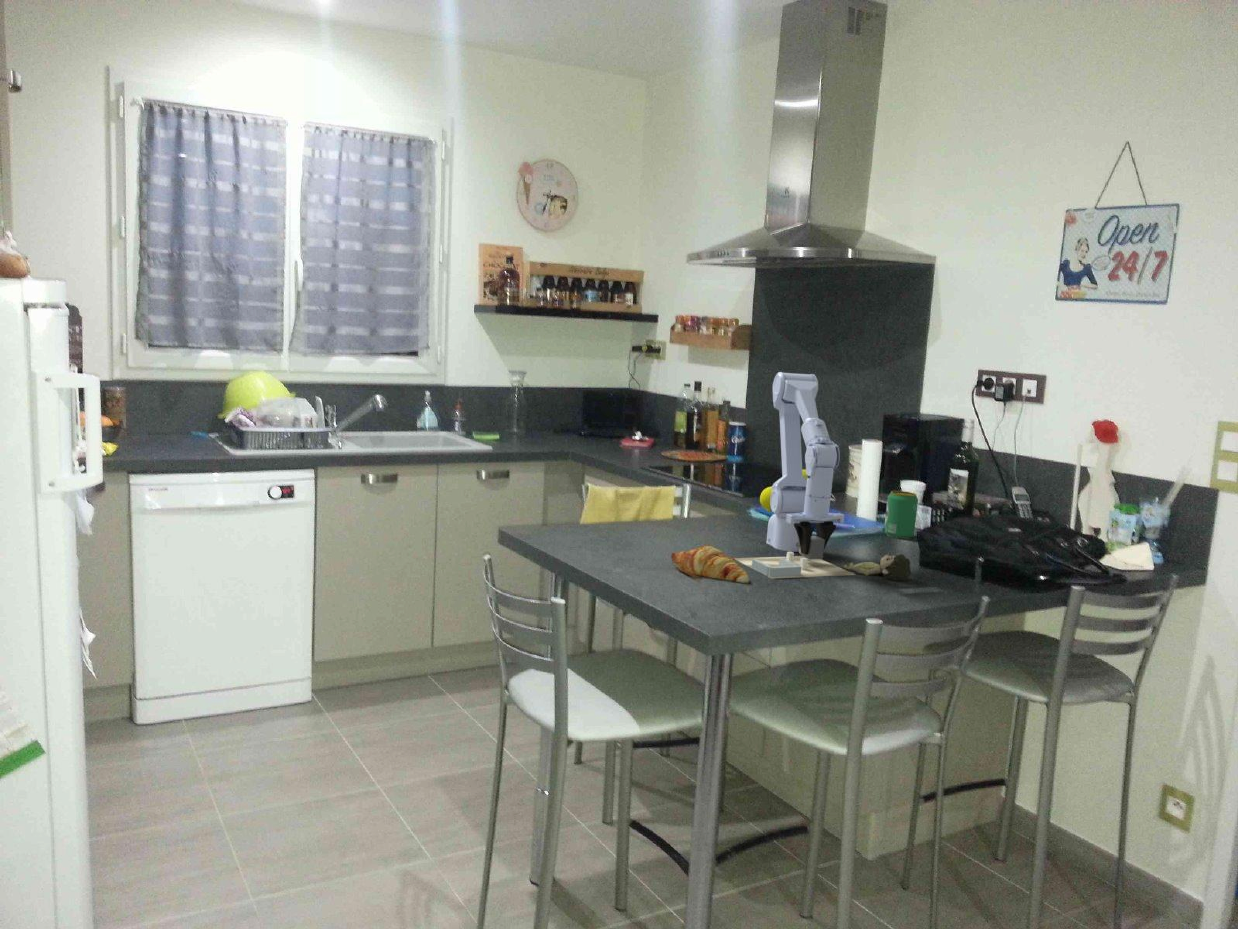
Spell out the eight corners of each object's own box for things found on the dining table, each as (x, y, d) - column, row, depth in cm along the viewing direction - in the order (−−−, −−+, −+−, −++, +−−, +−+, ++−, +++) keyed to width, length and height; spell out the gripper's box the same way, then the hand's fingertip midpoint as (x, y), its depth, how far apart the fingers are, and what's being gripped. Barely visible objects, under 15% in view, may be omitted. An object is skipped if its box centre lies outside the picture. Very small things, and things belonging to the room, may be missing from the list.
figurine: (854, 552, 237) (915, 552, 227) (856, 579, 237) (917, 581, 227) (838, 556, 231) (899, 557, 221) (840, 584, 231) (902, 586, 221)
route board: (732, 562, 234) (733, 558, 234) (812, 559, 242) (813, 555, 242) (771, 582, 218) (771, 578, 218) (855, 579, 227) (855, 574, 227)
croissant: (754, 601, 216) (767, 567, 218) (732, 586, 209) (746, 551, 210) (676, 576, 230) (689, 544, 231) (653, 562, 222) (667, 529, 224)
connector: (790, 550, 239) (792, 531, 238) (803, 550, 240) (805, 531, 240) (809, 559, 232) (811, 540, 231) (822, 558, 233) (825, 539, 233)
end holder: (751, 568, 226) (752, 559, 226) (782, 566, 229) (783, 558, 229) (769, 577, 219) (770, 568, 219) (800, 575, 222) (801, 566, 222)
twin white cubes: (785, 562, 234) (786, 551, 234) (790, 561, 234) (791, 551, 234) (802, 569, 228) (803, 559, 227) (806, 569, 228) (807, 559, 228)
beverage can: (886, 531, 283) (891, 489, 282) (915, 535, 280) (920, 493, 278) (881, 536, 276) (886, 493, 274) (911, 540, 273) (916, 497, 271)
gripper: (800, 499, 226) (794, 558, 228) (854, 499, 231) (848, 556, 233) (783, 493, 232) (777, 550, 234) (836, 492, 238) (830, 549, 240)
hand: (811, 553), depth 234 cm, fingers closed on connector, 3 cm apart
